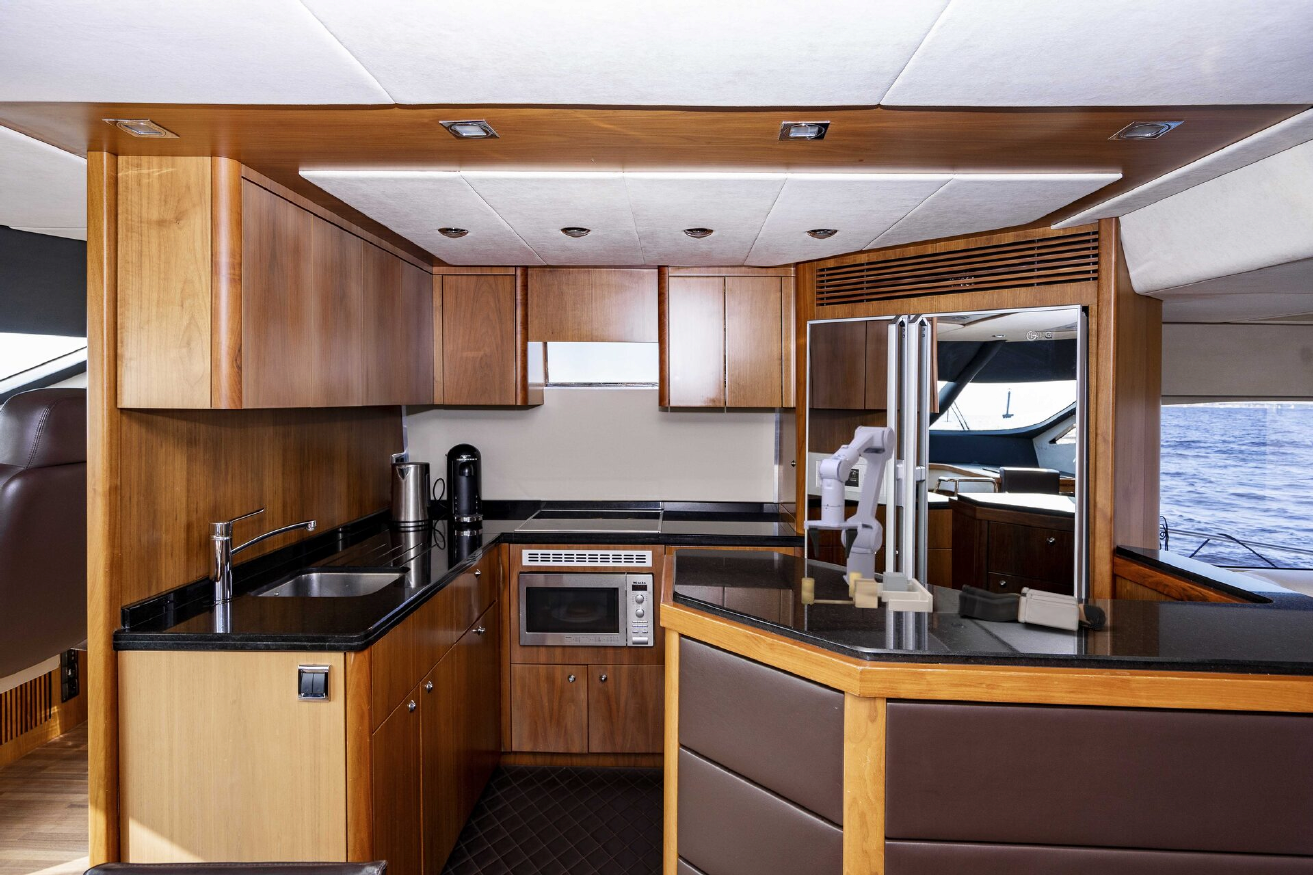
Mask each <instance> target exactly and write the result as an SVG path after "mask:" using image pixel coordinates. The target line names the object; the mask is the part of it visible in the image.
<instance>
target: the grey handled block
mask: <svg viewBox="0 0 1313 875" xmlns="http://www.w3.org/2000/svg"><path fill="white" fill-rule="evenodd" d="M882 577H883V579H882V583H883V591H903V592H907V584H908V580H909V579H908V576H907V575H906V574H905V573H904V572H900V571H899V572H898V571H897V572H896V571H891V572H890V571H883V574H882ZM854 578H858V579H862V573H860V572H850V578H849V585H848V586H849V587H848V595H849V596H848V597H849V598H853V583H854ZM878 598H882V593H878Z"/></svg>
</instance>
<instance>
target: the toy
mask: <svg viewBox="0 0 1313 875" xmlns="http://www.w3.org/2000/svg"><path fill="white" fill-rule="evenodd" d="M1020 592H1021V593H995V592H993V591H988V590H985V589H983V588H982V589H981V588H979V587H975V586H970V585H969V584H963V586H962V588H961V591H960V593H959V594H958V605H957V615H958V616H962V617H963V616H969V617H973V618H977V619H980V620H985V621H988V622H992V623H994V622H997V623H1000V622H1001V623H1002V622H1006V621H1014V620H1018V622H1020V623H1025V622H1026V623H1029V624H1034V625H1035V624H1036V625H1042V626H1045V627H1052V628H1057V629H1063V630H1070V631H1075V632H1076V631H1078V629H1079V626H1082V627H1086V628H1088V627H1090V628H1093V629H1092V630H1094V629H1095V630H1101V629H1103V630H1104V629H1105V625H1106V622H1107V617H1106V612H1105V610H1103V608H1102V607H1101V606H1099V605H1098V606H1097V605H1093V604H1088V603H1079V602H1078V599H1077V597H1076V596H1072V595H1065V594H1060V593H1053V592H1048V591H1043V590H1037V589H1031V588H1029V587H1023V588H1022V589H1021V591H1020ZM1095 630H1094V631H1095ZM1101 631H1102V630H1101Z"/></svg>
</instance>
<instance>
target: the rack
mask: <svg viewBox="0 0 1313 875" xmlns="http://www.w3.org/2000/svg"><path fill="white" fill-rule="evenodd" d="M877 583H878V594H882V597H881V602H882V603H886V602H887V603H888V611H890V612H913V613H915V612H917V613H933V605H934V604H933V602H934V601H933V599H934V598H933V597H934V596H933V594H931V592H929V590H928V589H926V588H925V587H924V586H923V585H922V584H921V583H920V581H918V580H917V579H916V578H912V577H911V578H910V583H907V592H903V591H883V582H877Z"/></svg>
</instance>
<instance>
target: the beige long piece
mask: <svg viewBox="0 0 1313 875" xmlns="http://www.w3.org/2000/svg"><path fill="white" fill-rule="evenodd" d="M878 583H879V582H877V581H876V580H875V578H874V579H858V578H854V583H853V597H852V600H833V599H815V578H812V577H802V578H801V604H803V605H808V604H810V605H814V604H831V605H834V604H836V605H854V606H855V607H856V608H861V609H862V608H869V609H878V598H879V597H878V594H879V593H878Z"/></svg>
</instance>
